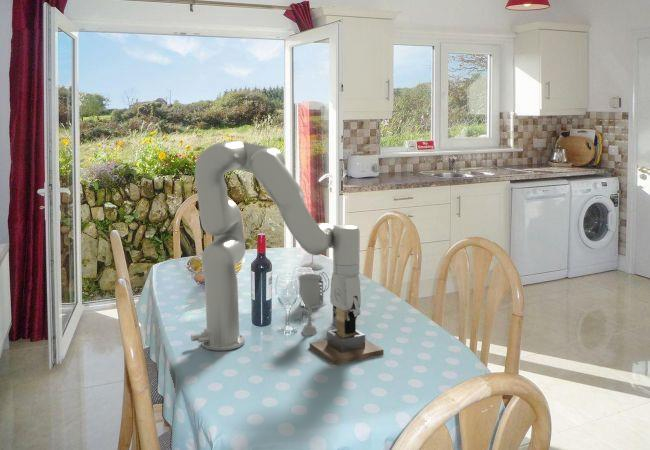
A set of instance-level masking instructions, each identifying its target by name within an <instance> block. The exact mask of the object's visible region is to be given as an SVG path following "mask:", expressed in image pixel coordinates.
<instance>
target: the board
mask: <svg viewBox="0 0 650 450" xmlns="http://www.w3.org/2000/svg"><path fill="white" fill-rule="evenodd" d="M309 348H310V349H311V350H312V351H314V352H315V353H316V354H318V355H319V356H321V357H322V358H324V359H325V360H327V361H328V362H330V363H331V364H332V365H333V366H337V365H338V366H339V365H343V364H348V363H352V362H357V361H361V360H366V359H370V358H374V357H379V356H382V355H383V356H384V348H382V347H380V346H378V345H377V344H375V343H373V342H371V341H369V340H368V339H366V338H365V348H363V349H358V350H354V351H349V352H344V353H340V352H338V351H337V350H335V349H334V348H332V347H331V346H329V345H328V344H327V339H323V340H322V339H321V340H318V341H317V340H316V341H312V342H309Z"/></svg>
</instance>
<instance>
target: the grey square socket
mask: <svg viewBox="0 0 650 450" xmlns="http://www.w3.org/2000/svg"><path fill="white" fill-rule="evenodd" d="M326 338H327V344H328V345H329V346H331V347H332V348H334V349H335V350H337V351H338V352H340V353H344V352H349V351H354V350H358V349H363V348H365V339H366V334H365V333H363V332H361V331H360V330H358V329H356V335H355V336H350V337H345V338H342V337H340V336H338V335H337V328H336V329H331V330H327V331H326Z"/></svg>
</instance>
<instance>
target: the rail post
mask: <svg viewBox="0 0 650 450" xmlns="http://www.w3.org/2000/svg"><path fill="white" fill-rule="evenodd" d="M351 309H353V307H352V308H351ZM349 313H350V314H351V313H353V312H349ZM345 320H346V312H345V311H343V310H341V309H339V308H337V325H336V329H337V335H338V336H340V337H342V338H345V337H350V336H355V335H356V331H355V333H351V334H345Z"/></svg>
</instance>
